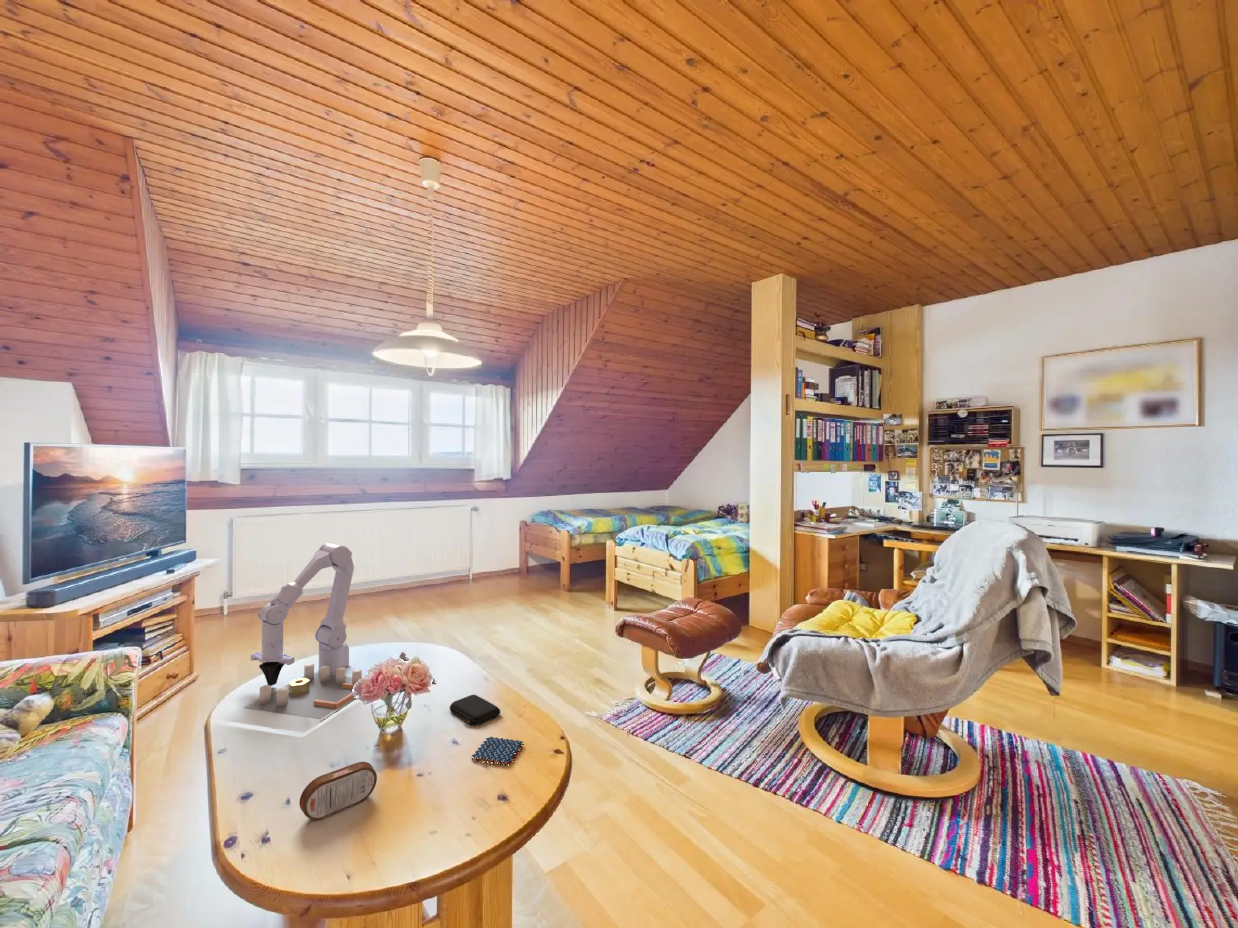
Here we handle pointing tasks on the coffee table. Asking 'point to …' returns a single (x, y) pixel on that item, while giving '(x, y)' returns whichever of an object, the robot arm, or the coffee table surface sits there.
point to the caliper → (408, 660)
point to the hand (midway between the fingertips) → (272, 684)
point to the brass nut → (299, 686)
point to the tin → (338, 790)
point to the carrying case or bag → (474, 709)
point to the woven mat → (498, 750)
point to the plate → (308, 693)
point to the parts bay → (340, 702)
